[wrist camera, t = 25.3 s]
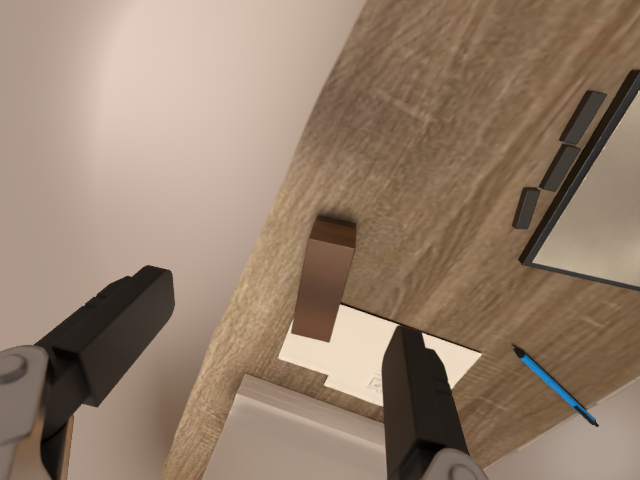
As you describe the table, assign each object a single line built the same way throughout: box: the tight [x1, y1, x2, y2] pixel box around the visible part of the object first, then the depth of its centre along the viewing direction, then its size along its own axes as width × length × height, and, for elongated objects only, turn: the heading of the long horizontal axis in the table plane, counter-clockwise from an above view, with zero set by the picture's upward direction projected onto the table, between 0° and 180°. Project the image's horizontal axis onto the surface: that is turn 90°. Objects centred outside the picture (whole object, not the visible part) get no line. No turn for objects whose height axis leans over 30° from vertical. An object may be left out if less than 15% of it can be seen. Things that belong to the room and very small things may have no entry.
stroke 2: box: [539, 145, 580, 192], centre depth 27 cm, size 4×1×1 cm, turn 169°
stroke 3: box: [559, 91, 607, 144], centre depth 25 cm, size 4×1×1 cm, turn 168°
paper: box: [278, 304, 482, 406], centre depth 41 cm, size 25×17×1 cm
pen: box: [513, 347, 599, 427], centre depth 38 cm, size 1×19×1 cm, turn 48°
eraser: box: [291, 216, 356, 343], centre depth 32 cm, size 12×4×6 cm, turn 170°
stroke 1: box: [512, 188, 540, 229], centre depth 29 cm, size 4×1×1 cm, turn 1°
